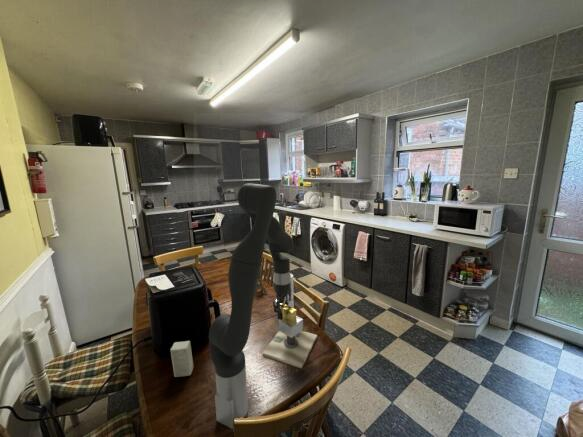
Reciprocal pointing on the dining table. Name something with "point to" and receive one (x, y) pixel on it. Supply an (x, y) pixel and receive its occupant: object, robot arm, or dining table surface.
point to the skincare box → (182, 358)
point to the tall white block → (291, 303)
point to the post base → (291, 348)
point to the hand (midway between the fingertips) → (283, 315)
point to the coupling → (290, 322)
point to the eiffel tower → (259, 286)
